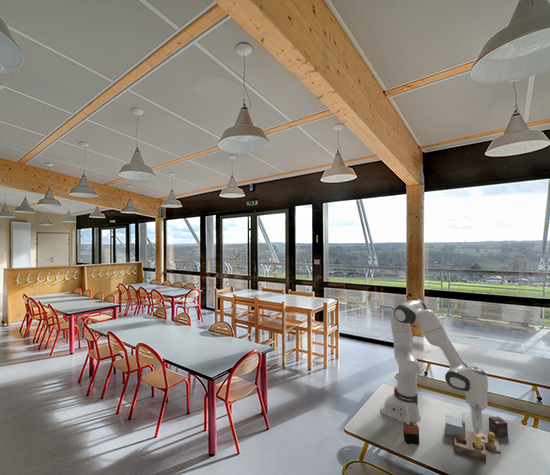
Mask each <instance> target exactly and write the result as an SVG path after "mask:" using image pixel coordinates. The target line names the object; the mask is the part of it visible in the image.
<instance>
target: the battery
mask: <svg viewBox="0 0 550 475" xmlns="http://www.w3.org/2000/svg"><path fill="white" fill-rule="evenodd" d="M402 423H403V426H402V427H403V439H404V440H403V441H404V442H405V444H406V445H416V446H418V445H419V446H420V428H419V427H420V426H419V425H418V423H416V422H402Z"/></svg>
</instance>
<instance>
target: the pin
mask: <svg viewBox="0 0 550 475" xmlns="http://www.w3.org/2000/svg"><path fill="white" fill-rule="evenodd" d="M474 446H475V448H476V449H479V450H482V438H481V436H479V435H477V434H475V435H474Z"/></svg>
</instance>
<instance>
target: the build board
mask: <svg viewBox="0 0 550 475" xmlns="http://www.w3.org/2000/svg"><path fill="white" fill-rule="evenodd" d="M453 440H454V441H453V442H454V445H453V446H454V451H455V452H458V453H460V454H461V453H462V454H464V455H467V456H471V457H474V458H477V459H480V460H483V461H487V452H486V450H487V449H485V444H484V443H482V450H479V449H476V448H475V446H474V440H472V439H469V438H466V437H462V436H459V435H456V434H454V439H453Z"/></svg>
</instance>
